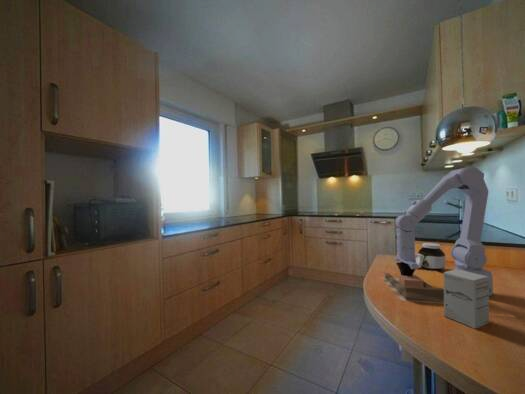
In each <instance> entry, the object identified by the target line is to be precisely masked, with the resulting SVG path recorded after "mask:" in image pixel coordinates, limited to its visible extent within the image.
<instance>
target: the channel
mask: <svg viewBox="0 0 525 394" xmlns="http://www.w3.org/2000/svg"><path fill="white" fill-rule="evenodd" d="M413 276H417V275H416V274H415V273H413ZM381 279H382V280H383V281H384V283H385V284H386V285H387V286H388V287H389V288H390V289H391V291H393V293H394V294H395V295H396V296H397V297H398V299H399V300H401V301H402V302H413V303H414V302H416V303H417V302H418V303H428V304H429V303H430V304H431V303H432V304H443V305H444V288H443V287H442V288H441V287H433V286H431V285H430V284H428V283H427V282H426V281H424V280H423V279H421V278H420V279H421V280H423V287H412V286H404V287H403V286H402V285H401V284H400V283H399V277H394V276H392V274H391V273H389V272H384V277H383V276H382V277H381Z"/></svg>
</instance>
